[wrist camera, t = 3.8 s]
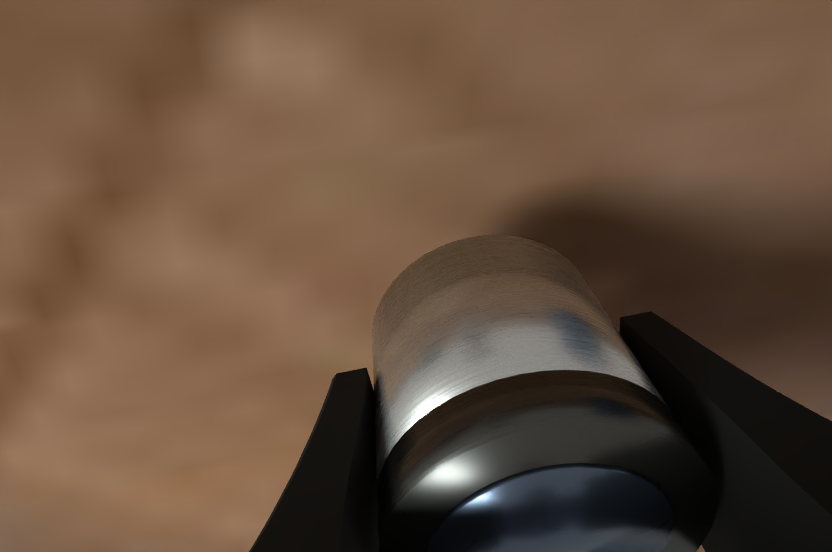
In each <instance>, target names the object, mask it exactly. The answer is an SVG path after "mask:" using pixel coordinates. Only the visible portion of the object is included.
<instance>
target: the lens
mask: <svg viewBox="0 0 832 552" xmlns="http://www.w3.org/2000/svg"><path fill="white" fill-rule="evenodd" d="M372 341H373V374H374V406H375V439H376V471H377V504H378V537H379V552H696V551H697V549H698V548H699V547H700V545H701V544H702V543H703V541H704V540H705V538H706V537H707V535H708V533H709V531H710V529H711V527H712V525H713V523H714V519H715V516H716V513H717V506H718V492H717V485H716V483H715V480H714V478H713V475H712V473H711V471H710V470H709V468H708V467H707V465H706V464H705V462H704V461H703V459H702V458H701V456H700V455H699V453H698V452H697V450H696V449H695V447H694V446H693V444H692V443H691V441H690V439H689V438H688V436H687V435H686V433H685V432H684V430H683V429H682V427H681V426H680V424H679V423H678V421H677V420H676V418H675V417H674V415H673V414H672V412H671V411H670V409H669V408H668V406H667V405H666V403H665V401H664V400H663V398H662V397H661V395H660V394H659V392H658V391H657V389H656V388H655V386H654V385H653V383H652V382H651V380H650V379H649V377H648V376H647V374H646V373H645V371H644V370H643V368H642V367H641V365H640V363H639V362H638V360H637V359H636V357H635V356H634V354H633V353H632V351H631V350H630V348H629V347H628V345H627V344H626V342H625V341H624V339H623V338H622V336H621V335H620V333H619V332H618V330H617V329H616V327H615V325H614V324H613V322H612V321H611V319H610V318H609V316H608V315H607V313H606V312H605V310H604V309H603V307H602V306H601V304H600V303H599V301H598V300H597V298H596V297H595V295H594V294H593V292H592V291H591V289H590V287H589V286H588V284H587V283H586V281H585V280H584V278H583V277H582V275H581V274H580V272H579V271H578V270H577V268H576V267H575V266H574V265H573V264H572V263H571V262H570V261H569V260H568V259H567V258H566V257H564V256H563V255H562V254H560V253H559V252H558V251H556V250H554V249H552V248H551V247H549V246H547V245H545V244H542V243H539V242H537V241H534V240H531V239H527V238H522V237H518V236H508V235H484V236H477V237H470V238H466V239H462V240H458V241H454V242H452V243H449V244H446V245H444V246H441V247H439V248H437V249H435V250H433V251H431V252H429V253H427V254H425V255H424V256H422V257H421V258H419V259H418V260H416V261H415V262H413V263H412V264H411V265H409V266H408V267H407V268H406V269H405V270H404V271H403V272H401V273H400V274H399V276H398V277H397V278H396V279H395V280H394V281H393V282H392V283H391V285H390V286H389V288H388V289H387V291H386V292H385V294H384V295H383V297H382V299H381V301H380V303H379V305H378V308H377V311H376V314H375V317H374V322H373V329H372Z"/></svg>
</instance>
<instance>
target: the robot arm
mask: <svg viewBox="0 0 832 552" xmlns="http://www.w3.org/2000/svg"><path fill="white" fill-rule="evenodd" d="M620 335H621V336H622V338H623V339H624V341H625V342H626V344H627V345H628V347H629V348H630V350H631V351H632V353H633V354H634V356H635V357H636V359H637V360H638V362H639V363H640V365H641V367H642V368H643V370H644V371H645V373H646V374H647V376H648V377H649V379H650V380H651V382H652V383H653V385H654V386H655V388H656V389H657V391H658V392H659V394H660V395H661V397H662V398H663V400H664V401H665V403H666V405H667V406H668V408H669V409H670V411H671V412H672V414H673V415H674V417H675V418H676V420H677V421H678V423H679V424H680V426H681V427H682V429H683V430H684V432H685V433H686V435H687V436H688V438H689V439H690V441H691V443H692V444H693V446H694V447H695V449H696V450H697V452H698V453H699V455H700V456H701V458H702V459H703V461H704V462H705V464H706V465H707V467H708V468H709V470H710V471H711V473H712V475H713V478H714V480H715V483H716V485H717V492H718V506H717V513H716V516H715V519H714V523H713V525H712V527H711V529H710V531H709V533H708V535H707V537H706V538H705V540H704V541H703V543H702V544H701V545H702V546H703V548H704V550H705V552H832V421H830V420H828V419H826V418H824V417H822V416H820V415H819V414H817V413H815V412H813V411H811V410H809V409H808V408H806V407H804V406H802V405H800V404H799V403H797V402H795V401H793V400H791V399H790V398H788V397H786V396H784V395H783V394H781V393H779V392H777V391H775V390H774V389H772V388H770V387H769V386H767V385H765V384H764V383H762V382H760V381H759V380H757V379H755V378H754V377H752V376H750V375H749V374H747V373H745V372H744V371H742V370H740V369H739V368H737V367H736V366H734V365H732V364H731V363H729V362H728V361H726V360H725V359H723V358H721V357H720V356H718V355H717V354H715V353H714V352H712V351H711V350H709V349H707V348H706V347H704V346H703V345H701V344H700V343H698V342H697V341H695V340H694V339H692V338H691V337H689V336H688V335H686V334H685V333H683V332H682V331H680V330H679V329H677V328H676V327H674V326H673V325H671V324H670V323H668V322H667V321H665V320H664V319H662V318H660V317H659V316H657V315H656V314H654V313H653V312H646V313H641V314H636V315H631V316H626V317H621V318H620ZM249 552H379V537H378V504H377V471H376V439H375V406H374V390H373V387H372V384H371V381H370V377H369V374H368V371H367V368H362V369H357V370H352V371H347V372H342V373H337V374H336V375H335V376H334V378H333V379H332V382H331V385H330V388H329V391H328V393H327V396H326V399H325V401H324V404H323V407H322V409H321V412H320V414H319V416H318V419H317V421H316V424H315V426H314V428H313V431H312V433H311V435H310V437H309V440H308V442H307V444H306V446H305V448H304V451H303V453H302V455H301V457H300V459H299V461H298V464H297V466H296V468H295V470H294V472H293V474H292V476H291V478H290V480H289V481H288V483H287V485H286V487H285V489H284V491H283V493H282V495H281V497H280V499H279V501H278V502H277V504H276V506H275V508H274V510H273V512H272V514H271V516H270V517H269V519H268V521H267V523H266V524H265V526H264V528H263V529H262V531H261V533H260V535H259V536H258V538H257V540H256V541H255V543H254V545H253V546H252V548H251V549H250V551H249Z"/></svg>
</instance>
